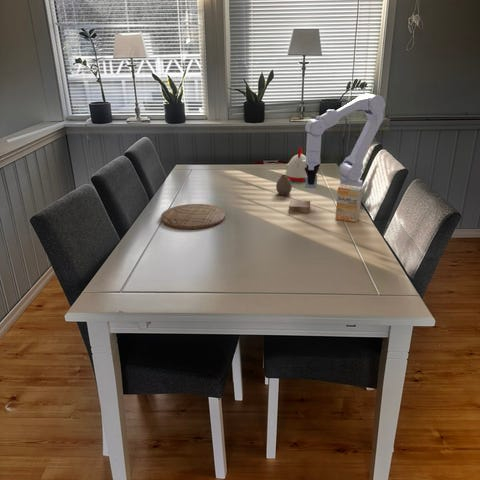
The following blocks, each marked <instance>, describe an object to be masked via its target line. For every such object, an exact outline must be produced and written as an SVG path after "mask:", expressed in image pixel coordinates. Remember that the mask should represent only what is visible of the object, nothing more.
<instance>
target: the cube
mask: <svg viewBox="0 0 480 480" xmlns="http://www.w3.org/2000/svg"><path fill="white" fill-rule="evenodd" d="M317 186H318V174H316V177H315V182H314V185H309V184H308V179H307V175H306V178H305V182H304V188H305V189H317Z"/></svg>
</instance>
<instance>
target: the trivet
mask: <svg viewBox="0 0 480 480" xmlns="http://www.w3.org/2000/svg"><path fill="white" fill-rule="evenodd" d="M225 219H226V212H225V210H224V209H222V207H219V206H216V205H212V204H207V203H186V204H182V205H181V204H180V205H177V206H176V205H175V206H173V207H170V208H168V209H166V210H165V211H163V212H162V213H161V215H160V221H161V223H162V225H164V226H165V227H167V228H169V229H170V228H171V229H174V230H179V231H180V230H181V231H198V230H204V229H208V228H209V229H210V228H213V227H215V226H218V225H219V224H222V223H223V222H224V221H225Z"/></svg>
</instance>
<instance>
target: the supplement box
mask: <svg viewBox="0 0 480 480" xmlns="http://www.w3.org/2000/svg"><path fill="white" fill-rule="evenodd" d="M336 194H337V197H336V207H335V208H336V210H335V216H334V217H335V218H334V219H335V220H337V221H344V222H352V223H357V221H358V220H359V218H360V211H361V203H362V197H361V195H362V196H363V186H362V187H357V186H351V185H344V184H341V185H340V184H339V186H338V187H337V193H336Z"/></svg>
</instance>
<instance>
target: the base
mask: <svg viewBox="0 0 480 480" xmlns="http://www.w3.org/2000/svg"><path fill="white" fill-rule="evenodd" d="M310 210H311V200H303V199H302V200H297V199H290V201H289V205H288V213H294V214H295V213H296V214H309V213H310Z"/></svg>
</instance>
